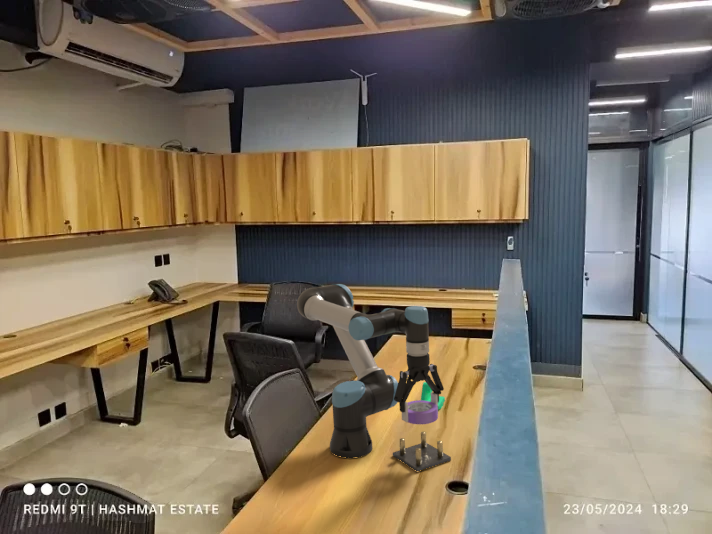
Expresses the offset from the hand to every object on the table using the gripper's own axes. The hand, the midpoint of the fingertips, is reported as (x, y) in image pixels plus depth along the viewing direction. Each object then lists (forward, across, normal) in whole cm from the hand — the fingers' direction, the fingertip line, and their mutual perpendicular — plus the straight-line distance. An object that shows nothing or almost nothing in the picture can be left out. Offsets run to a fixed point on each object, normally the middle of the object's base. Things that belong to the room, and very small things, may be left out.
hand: (420, 416), depth 179 cm
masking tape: (+1, 0, 0) cm, 1 cm away
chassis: (+15, 0, 0) cm, 15 cm away
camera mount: (+15, +32, +34) cm, 49 cm away
